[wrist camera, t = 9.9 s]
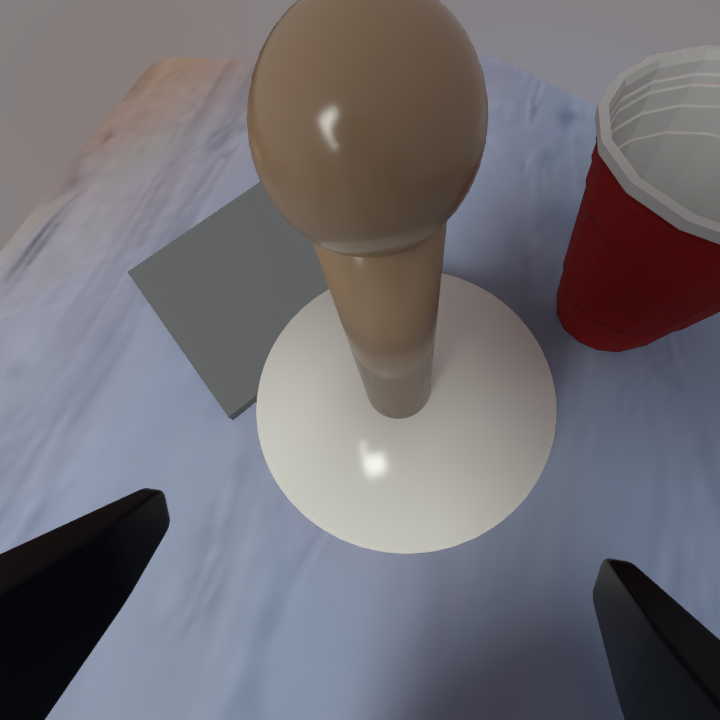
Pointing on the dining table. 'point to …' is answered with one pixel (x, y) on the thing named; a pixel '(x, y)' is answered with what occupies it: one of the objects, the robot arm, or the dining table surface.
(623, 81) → the plastic cup
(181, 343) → the mat
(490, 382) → the peg stand
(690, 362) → the dining table surface
